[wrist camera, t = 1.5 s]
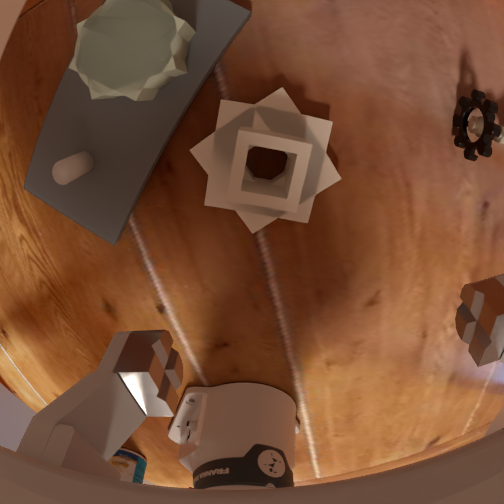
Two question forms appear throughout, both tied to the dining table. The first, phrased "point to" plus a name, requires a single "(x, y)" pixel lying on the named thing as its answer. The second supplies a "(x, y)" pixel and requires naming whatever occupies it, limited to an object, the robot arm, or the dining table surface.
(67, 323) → the dining table surface
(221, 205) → the gear
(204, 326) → the dining table surface
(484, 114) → the valve
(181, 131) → the dining table surface
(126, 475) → the beverage bottle
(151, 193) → the dining table surface
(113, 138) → the board
